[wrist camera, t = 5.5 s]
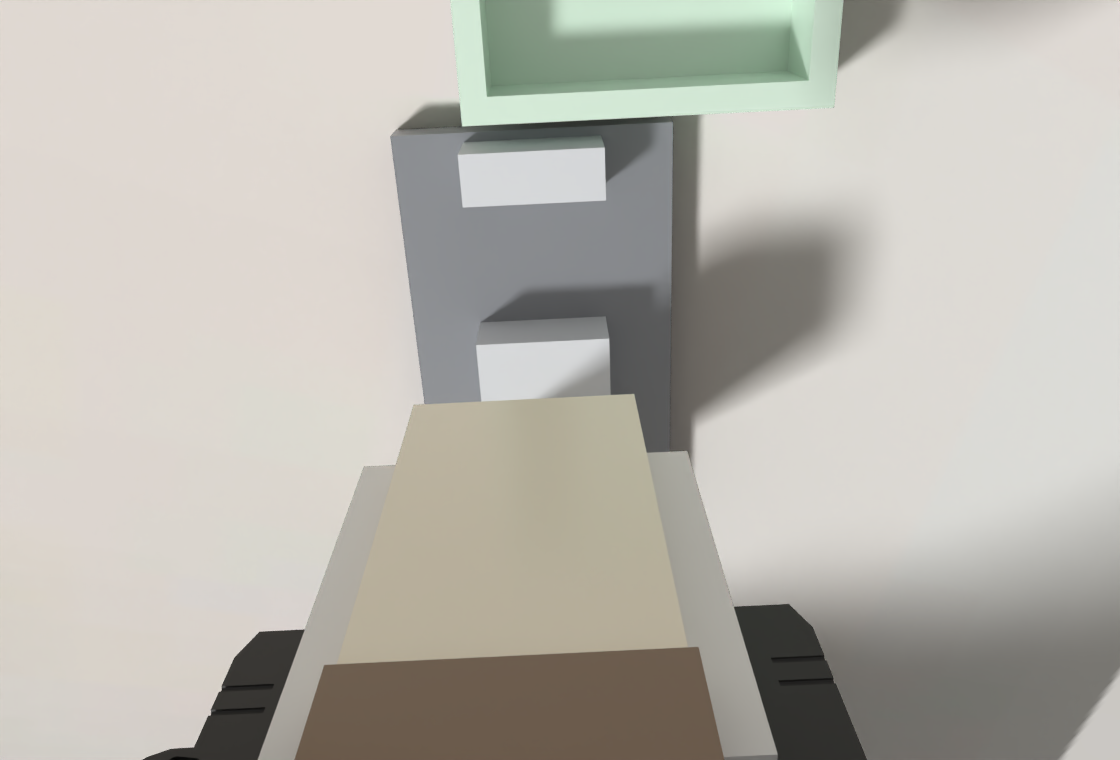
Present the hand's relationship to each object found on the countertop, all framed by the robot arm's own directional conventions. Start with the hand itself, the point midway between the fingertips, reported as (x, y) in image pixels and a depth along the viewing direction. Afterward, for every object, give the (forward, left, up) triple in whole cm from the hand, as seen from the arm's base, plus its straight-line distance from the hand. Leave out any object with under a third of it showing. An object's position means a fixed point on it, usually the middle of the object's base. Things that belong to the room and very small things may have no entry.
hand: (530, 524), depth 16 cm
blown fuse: (0, 0, -1) cm, 1 cm away
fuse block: (-4, 0, -17) cm, 17 cm away
